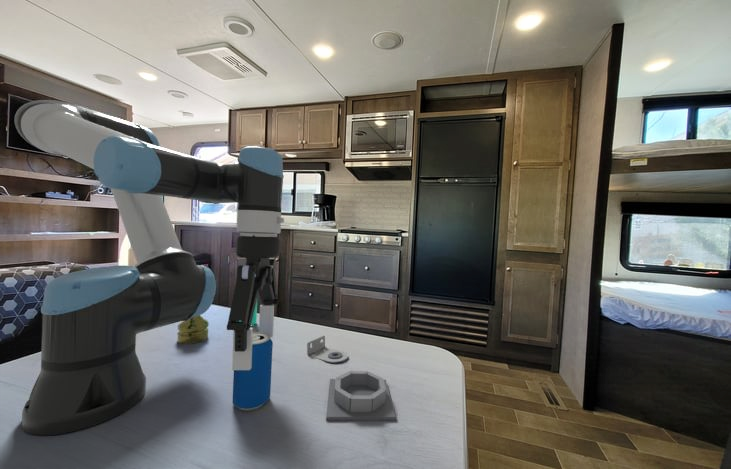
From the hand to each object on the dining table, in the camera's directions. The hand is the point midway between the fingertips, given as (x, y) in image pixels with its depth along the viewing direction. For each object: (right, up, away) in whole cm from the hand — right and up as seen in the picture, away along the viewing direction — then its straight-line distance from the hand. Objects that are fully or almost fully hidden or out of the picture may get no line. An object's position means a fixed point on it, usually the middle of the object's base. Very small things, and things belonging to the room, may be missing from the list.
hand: (255, 350), depth 51 cm
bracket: (+11, -10, +21) cm, 26 cm away
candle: (-19, -8, +40) cm, 45 cm away
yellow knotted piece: (-28, -8, +26) cm, 39 cm away
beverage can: (-1, -10, 0) cm, 10 cm away
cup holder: (+19, -11, +3) cm, 22 cm away
